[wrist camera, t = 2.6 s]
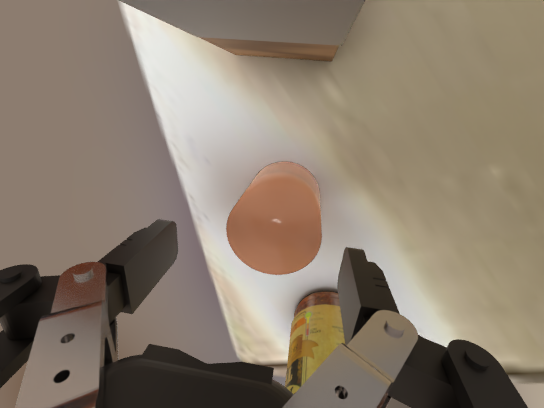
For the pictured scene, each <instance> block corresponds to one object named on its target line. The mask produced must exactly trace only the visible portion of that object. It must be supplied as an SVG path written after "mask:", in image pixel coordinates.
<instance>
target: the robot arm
mask: <svg viewBox="0 0 544 408" xmlns="http://www.w3.org/2000/svg"><path fill="white" fill-rule="evenodd" d="M177 254H178V243H177V228H176V223H175V222H173V221H167V220H160V219H158V220H156V221H155V222H154V223H153V224H151V225H150V226H149V227H148V228H144V229H141V230H139V231H137V232H134V233H133V234H132V235H131V236H129V237H128V238H127V240H125V241H123V242H122V243H121V244H120V245H118V246H117V247H116V248H114V249H113V250H112V251H111V252H109V253H108V254H107V255H105V256H104V257H103V258H102V259H101V260H99V261H98V262H85V263H81V264H77V265H75V266H72V267H71V268H69V269H67V270H66V271H64V272H63V273H62V274H61V275H60V276H44V277H40V275H39V272H38V269H37V267H36V266H33V265H17V266H12V267H9V268H6V269H3V270H0V323H1V326H2V328H3V331H1V332H0V388H1V387H2V386H3V385H4V384H5V383H6V382H7V381H8V380H9V379H10V378H11V377H12V376H13V375H14V374H15V373H16V372H17V371H18V370H19V369H20V368H21V367H22V366H23V365H24V363H26V362H27V361H28V363H27V367H26V370H25V373H24V377H23V381H22V385H21V388H20V391H19V395H18V399H17V402H16V406H15V408H386V407H387V405H388V403H389V401H390V400H391V398H394V399H396V400H398V401H400V402H402V403H404V404H405V405H407V406H409V407H411V408H528V407H527V405H526V404H525V402H524V401H523V399H522V398H521V396H520V394H519V393H518V391H517V390H516V388H515V387H514V385H513V383H512V382H511V380H510V379H509V377H508V375H507V374H506V372H505V371H504V369H503V368H502V366H501V365H500V363H499V362H498V361H497V360H496V359H495V358H494V357H493V356H492V355H491V354H490V353H489V352H487V351H486V350H484V349H483V348H481V347H480V346H478V345H476V344H474V343H471V342H469V341H465V340H453V341H451V342H450V343H449V345H448V346H447V348H446V347H444V346H442V345H439V344H437V343H434V342H432V341H430V340H427V339H425V338H423V337H421V336H419V335H418V333H417V330H416V328H415V327H414V325H413V324H412V323H411V322H410V321H409V320H408V319H406V318H405V317H404V316H402V315H400V314H399V311H398V309H397V306H396V304H395V301H394V299H393V296H392V294H391V291H390V289H389V286H388V284H387V281H386V279H385V276H384V274H383V271H382V270H381V269H380V268H379V267H378V266H377V265H376V264H375V263H373V262H367V259H366V256H365V253H364V250H362V249H355V248H348V247H346V248H345V250H344V254H343V259H342V263H341V267H340V271H339V276H338V295H339V302H340V310H341V317H342V325H343V332H344V339H345V344H344V343H341V344H339V345H338V346H337V347H336V348H335V349H334V351H333V352H332V353H331V354H330V355H329V356H328V357H327V358H326V359H325V361H324V362H323V363H322V364H321V365H320V366H319V367H318V368H317V369H316V371H315V372H314V373H313V374H312V375H311V376H310V377H309V378H308V379H307V380H306V382H305V383H304V384H303V385H302V386H301V387H300V388H299V389H298V390H297V392H296V393H295V394H293V393H292V392H291V391H289V390H288V389H287V388H286V387H285V386H283V385H282V384H280V383H279V382H277V381H275V380H273V379H272V377H273V370H274V368H271V367H266V366H261V365H255V364H250V363H245V362H235V363H216V364H207V363H204V362H202V361H200V360H198V359H196V358H194V357H192V356H190V355H188V354H186V353H184V352H182V351H180V350H178V349H173V348H168V347H162V346H157V345H152V344H149V345H148V347H147V348H146V350H145V351H144V353H143V354H142V355H136V356H130V357H127V358H123V359H120V360H118V332H117V319H116V316H117V315H118V314H119V313H120V312H124V313H129V314H133V313H134V311H135V310H136V309H137V308H138V306H139V305H140V304H141V303H142V301H143V300H144V299H145V298H146V296H147V295H148V294H149V293H150V292H151V290H152V289H153V288H154V287H155V285H156V284H157V283H158V282H159V280H160V279H161V278H162V276H163V275H164V274H165V273H166V272H167V270H168V269H169V268H170V267H171V266H172V264H173V263H174V261H175V260H176V257H177Z"/></svg>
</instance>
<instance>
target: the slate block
mask: <svg viewBox="0 0 544 408" xmlns="http://www.w3.org/2000/svg"><path fill="white" fill-rule="evenodd" d="M119 1H121V2H124V3H126V4H128V5H130V6H132V7H134V8H136V9H138V10H141V11H143V12H145V13H147V14H149V15H151V16H153V17H156V18H158V19H160V20H162V21H164V22H166V23H168V24H170V25H173V26H175V27H177V28H179V29H181V30H183V31H185V32H188V33H190V34H192V35H194V36H196V37H204V38H221V39H238V40H255V41H271V42H288V43H305V44H322V45H339V46H342V44H343V42H344V40H345V38H346V37H347V35H348V33H349V31H350V29H351V27H352V25H353V23H354V21H355V19H356V17H357V15H358V13H359V11H360V9H361V7H362V5H363V4H364V2H365V0H119Z"/></svg>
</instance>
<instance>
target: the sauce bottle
mask: <svg viewBox="0 0 544 408" xmlns="http://www.w3.org/2000/svg"><path fill="white" fill-rule="evenodd" d="M341 343H344V344H345V339H344V332H343V325H342V317H341V310H340V302H339V295H338V293H334V292H317V293H313V294H310V295H309V296H307V297H305V298H304V299H303V300H302V301H301V302H300V303H299V305H298V307H297V309H296V311H295V313H294V320H293V322H292V325H291V334H290V344H289V354H288V365H287V375H286V381H285V387H286V388H287V389H288V390H289V391H291V392H292V393H293V394H295V393H296V392H297V390H298V389H299V388H300V387H301V386H302V385H303V384H304V383H305V382H306V380H307V379H308V378H309V377H310V376H311V375H312V374H313V373H314V372H315V371H316V369H317V368H318V367H319V366H320V365H321V364H322V363H323V362H324V361H325V359H326V358H327V357H328V356H329V355H330V354H331V353H332V352H333V351H334V349H335V348H336V347H337V346H338V345H339V344H341Z"/></svg>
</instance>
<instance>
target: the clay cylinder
mask: <svg viewBox="0 0 544 408" xmlns="http://www.w3.org/2000/svg"><path fill="white" fill-rule="evenodd" d="M226 230H227V237H228V241H229V244H230V246H231V248H232V250H233V251H234V253H235V254H236V255H237V257H238V258H239V259H240V260H241V261H242V262H244V263H245V264H246V265H248V266H249V267H251V268H253V269H255V270H257V271H260V272H263V273H267V274H274V275H282V274H289V273H293V272H296V271H298V270H300V269H302V268H304V267H305V266H307V265H308V264H309V263H310V262H311V261H312V260H313V259H314V258H315V256H316V255H317V253H318V251H319V248H320V245H321V238H322V234H321V210H320V191H319V186H318V183H317V181H316V179H315V178H314V176H313V175H312V174H311V173H310V172H309V171H308V170H307V169H306V168H304V167H303V166H301V165H299V164H296V163H293V162H276V163H272V164H270V165H268V166H266V167H264V168H263V169H262V170H261V171H260V172H259V173H258V174H257V175H256V176H255V178H254V179H253V181H252V182H251V184H250V185H249V186H248V188H247V189H246V191H245V192H244V193H243V195H242V196H241V198H240V199H239V200H238V202H237V203H236V205H235V206H234V208H233V209H232V211H231V212H230V215H229V217H228V221H227V228H226Z"/></svg>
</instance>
